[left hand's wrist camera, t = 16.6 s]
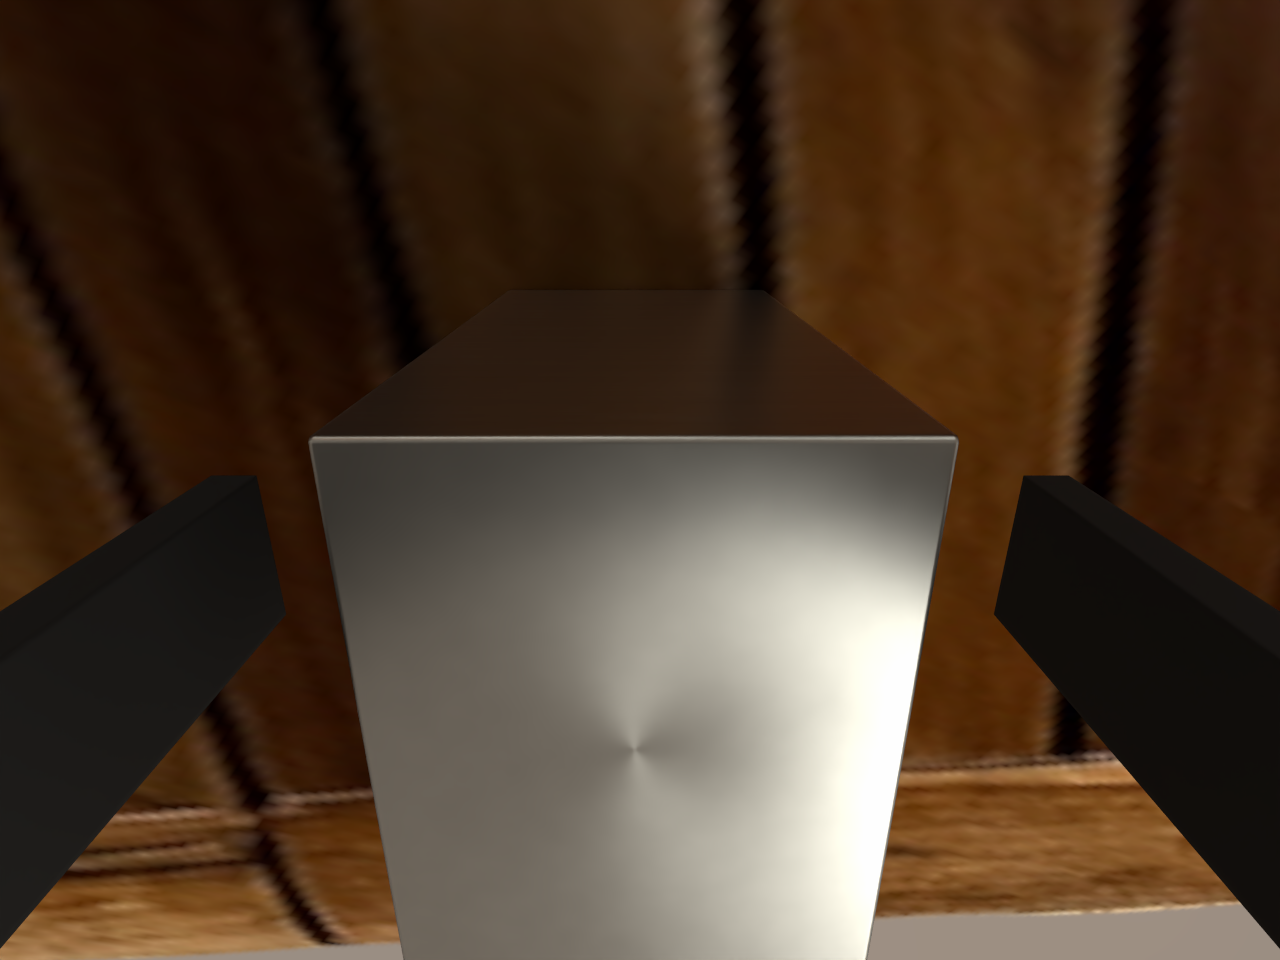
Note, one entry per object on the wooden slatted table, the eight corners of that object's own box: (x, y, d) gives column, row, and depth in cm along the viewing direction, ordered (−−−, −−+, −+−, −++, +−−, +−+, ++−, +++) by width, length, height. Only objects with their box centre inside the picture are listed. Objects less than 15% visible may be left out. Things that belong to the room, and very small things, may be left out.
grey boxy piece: (526, 564, 19) (403, 971, 9) (507, 289, 16) (304, 436, 6) (746, 563, 19) (867, 969, 9) (764, 289, 16) (962, 435, 6)
